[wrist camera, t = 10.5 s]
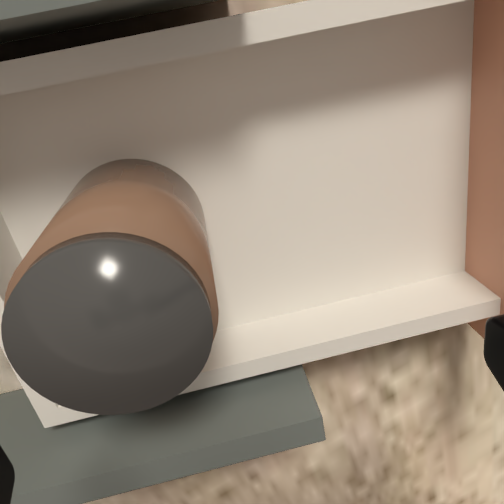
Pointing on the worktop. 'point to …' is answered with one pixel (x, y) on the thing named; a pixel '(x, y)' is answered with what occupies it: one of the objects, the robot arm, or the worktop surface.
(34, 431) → the dock
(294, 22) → the tray
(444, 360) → the worktop surface
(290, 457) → the worktop surface
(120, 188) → the spice jar
